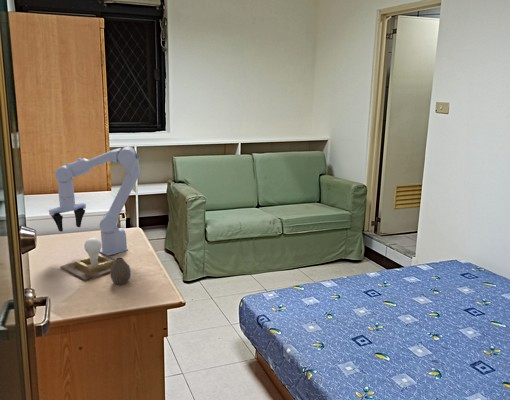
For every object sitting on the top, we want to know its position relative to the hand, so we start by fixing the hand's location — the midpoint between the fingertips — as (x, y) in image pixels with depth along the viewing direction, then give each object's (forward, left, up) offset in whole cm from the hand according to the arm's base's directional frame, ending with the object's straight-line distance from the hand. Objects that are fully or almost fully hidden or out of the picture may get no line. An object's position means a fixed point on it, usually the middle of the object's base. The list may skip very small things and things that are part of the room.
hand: (69, 228), depth 199 cm
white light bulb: (+2, +21, -10) cm, 23 cm away
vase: (+3, +40, -11) cm, 41 cm away
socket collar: (+2, +21, -10) cm, 24 cm away
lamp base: (+2, +21, -10) cm, 24 cm away
